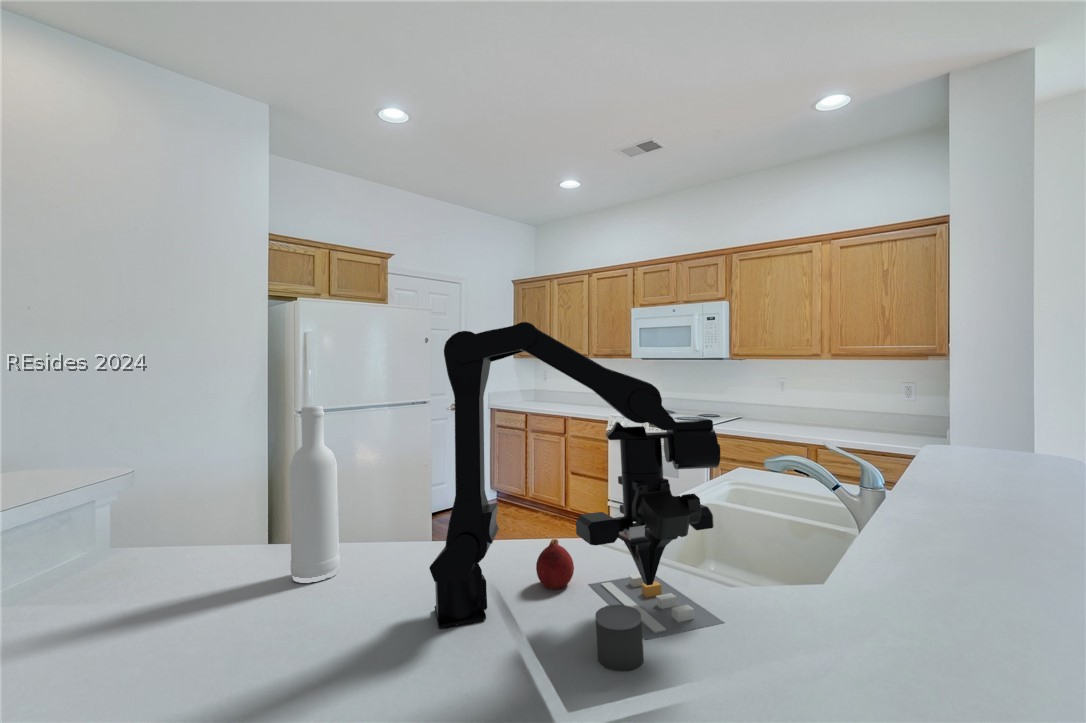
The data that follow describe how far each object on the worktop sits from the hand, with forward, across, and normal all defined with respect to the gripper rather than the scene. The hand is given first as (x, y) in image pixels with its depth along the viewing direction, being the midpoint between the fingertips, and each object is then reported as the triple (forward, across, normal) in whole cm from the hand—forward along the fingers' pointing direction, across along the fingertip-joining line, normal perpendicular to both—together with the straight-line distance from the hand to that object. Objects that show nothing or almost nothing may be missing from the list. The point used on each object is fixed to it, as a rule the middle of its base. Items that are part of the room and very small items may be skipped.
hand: (648, 584), depth 69 cm
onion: (+4, -10, +11) cm, 15 cm away
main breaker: (+2, +2, +2) cm, 3 cm away
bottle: (+4, -47, +35) cm, 59 cm away
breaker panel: (+4, 0, 0) cm, 4 cm away
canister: (+4, -10, -12) cm, 16 cm away
